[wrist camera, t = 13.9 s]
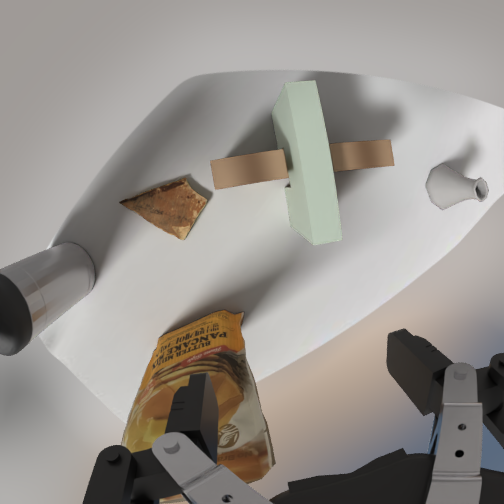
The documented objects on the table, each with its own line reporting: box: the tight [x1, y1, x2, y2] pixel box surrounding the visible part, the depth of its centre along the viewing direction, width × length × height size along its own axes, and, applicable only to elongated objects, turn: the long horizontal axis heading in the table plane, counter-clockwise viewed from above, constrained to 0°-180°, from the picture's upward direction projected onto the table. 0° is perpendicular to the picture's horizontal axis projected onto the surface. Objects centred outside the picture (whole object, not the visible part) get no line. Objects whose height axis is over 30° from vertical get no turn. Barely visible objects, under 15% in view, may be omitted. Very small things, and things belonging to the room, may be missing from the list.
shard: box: [119, 178, 207, 240], centre depth 39 cm, size 11×8×2 cm
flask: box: [426, 164, 489, 210], centre depth 36 cm, size 7×7×10 cm
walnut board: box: [210, 140, 394, 190], centre depth 34 cm, size 20×3×10 cm, turn 99°
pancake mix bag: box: [121, 310, 275, 504], centre depth 31 cm, size 7×19×28 cm, turn 116°
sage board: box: [271, 80, 342, 245], centre depth 33 cm, size 16×3×13 cm, turn 10°
